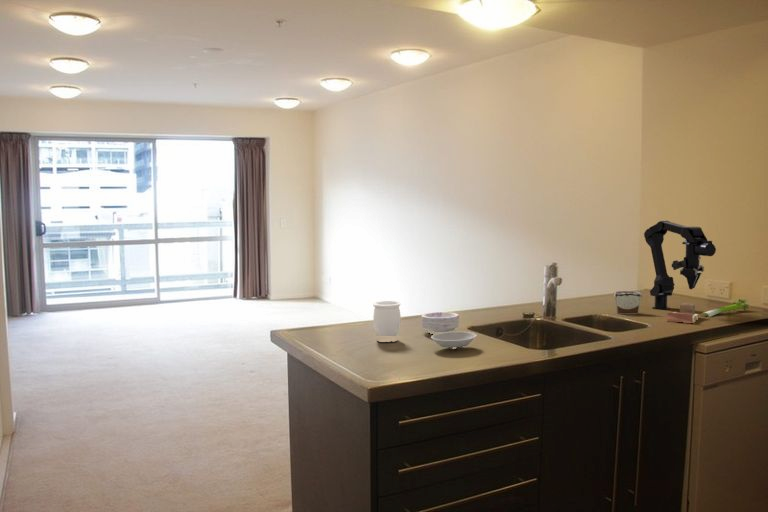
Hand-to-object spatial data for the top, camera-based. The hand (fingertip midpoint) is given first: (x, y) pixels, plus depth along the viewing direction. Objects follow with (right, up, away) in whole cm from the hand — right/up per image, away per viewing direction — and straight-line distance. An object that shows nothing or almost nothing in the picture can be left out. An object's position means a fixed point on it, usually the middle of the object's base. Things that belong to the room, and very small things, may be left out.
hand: (691, 288), depth 278 cm
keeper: (-4, -13, -5) cm, 14 cm away
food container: (-26, -12, +10) cm, 30 cm away
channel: (-9, -13, -11) cm, 20 cm away
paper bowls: (-117, -17, -27) cm, 121 cm away
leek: (+17, -12, +3) cm, 21 cm away
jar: (-139, -19, -39) cm, 145 cm away
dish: (-115, -19, -55) cm, 129 cm away
